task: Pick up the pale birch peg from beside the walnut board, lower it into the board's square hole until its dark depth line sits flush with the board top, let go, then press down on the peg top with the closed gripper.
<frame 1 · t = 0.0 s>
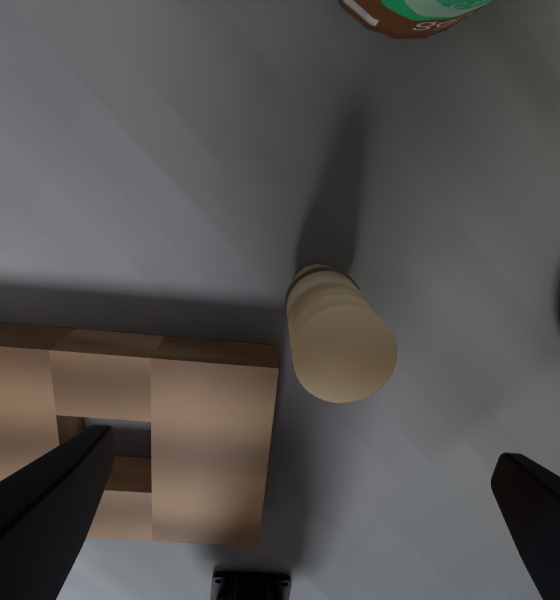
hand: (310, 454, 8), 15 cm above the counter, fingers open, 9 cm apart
birch peg: (316, 289, 23), on the counter
walnut board: (124, 424, 25), on the counter
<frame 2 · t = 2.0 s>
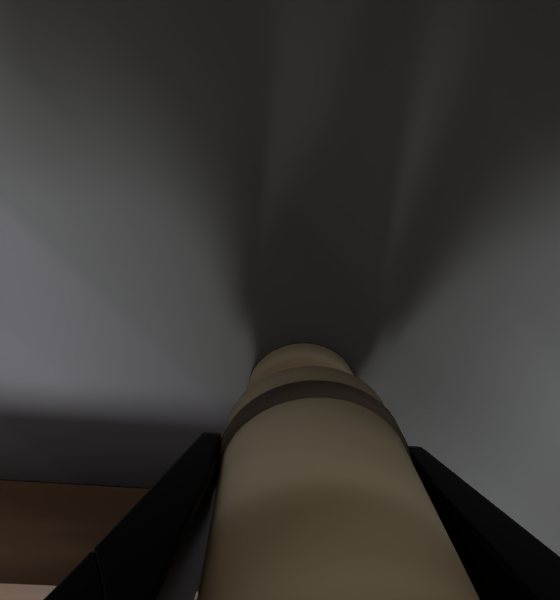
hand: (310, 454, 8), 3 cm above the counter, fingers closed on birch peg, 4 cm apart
birch peg: (301, 392, 11), on the counter, touching gripper
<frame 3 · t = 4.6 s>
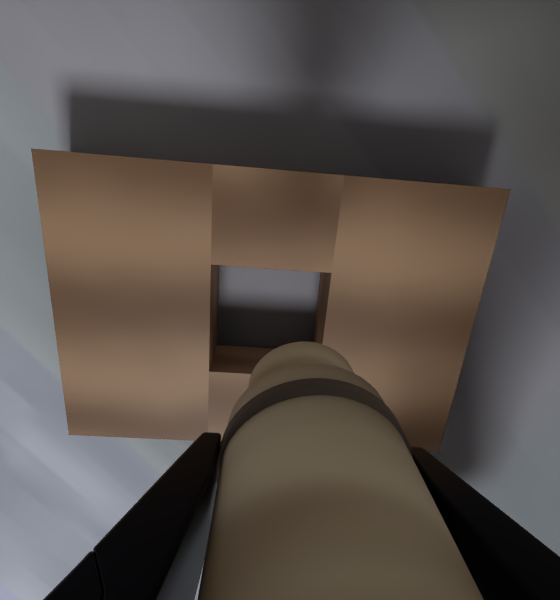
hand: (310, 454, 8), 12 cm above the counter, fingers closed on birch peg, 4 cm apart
birch peg: (302, 390, 11), point 10 cm above the counter, touching gripper
walnut board: (267, 303, 20), on the counter
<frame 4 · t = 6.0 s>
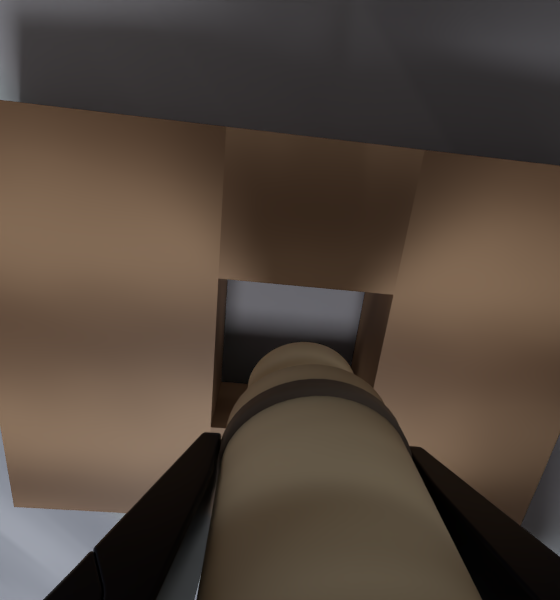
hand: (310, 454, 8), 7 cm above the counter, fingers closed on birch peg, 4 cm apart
birch peg: (301, 391, 11), point 5 cm above the counter, touching gripper
walnut board: (291, 329, 15), on the counter
when the fingers open (4 cm above the counter, at t = 7.1 s): birch peg drops 1 cm, resting in walnut board.
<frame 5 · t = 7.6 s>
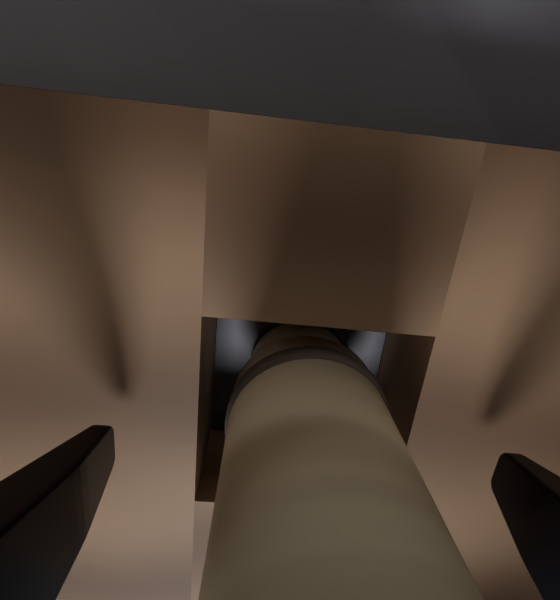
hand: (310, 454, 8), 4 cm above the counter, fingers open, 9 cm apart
birch peg: (298, 365, 12), resting in walnut board
walnut board: (297, 367, 12), on the counter
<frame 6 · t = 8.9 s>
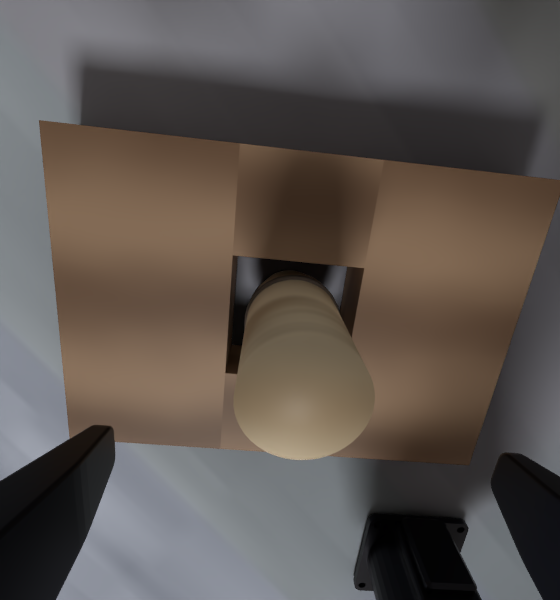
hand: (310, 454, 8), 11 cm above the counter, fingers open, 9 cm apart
birch peg: (289, 300, 19), resting in walnut board
walnut board: (288, 300, 19), on the counter
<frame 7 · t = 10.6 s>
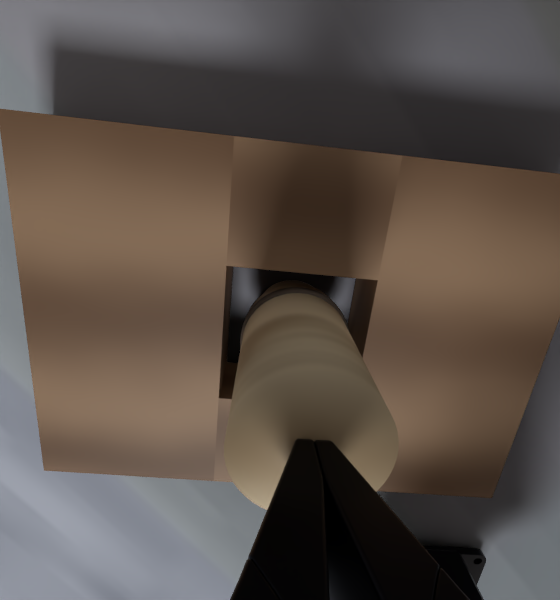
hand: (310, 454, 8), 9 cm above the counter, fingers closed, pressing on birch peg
birch peg: (290, 313, 17), resting in walnut board, touching gripper
walnut board: (290, 314, 17), on the counter
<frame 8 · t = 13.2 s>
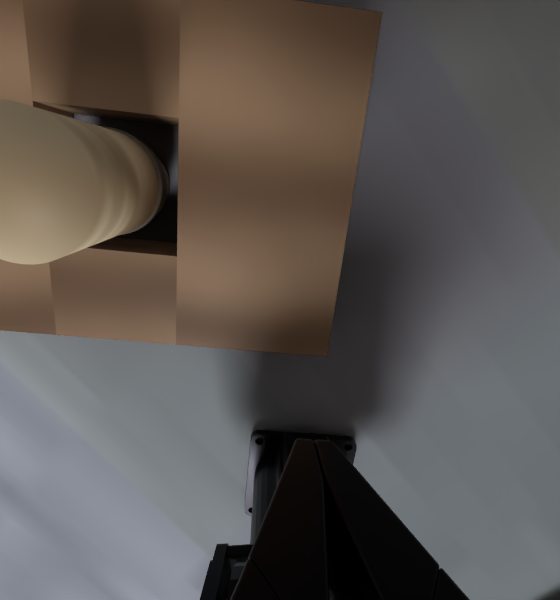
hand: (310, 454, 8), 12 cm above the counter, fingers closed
birch peg: (136, 182, 18), resting in walnut board
walnut board: (135, 182, 18), on the counter
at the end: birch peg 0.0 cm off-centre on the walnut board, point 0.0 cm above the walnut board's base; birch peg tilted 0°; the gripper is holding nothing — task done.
